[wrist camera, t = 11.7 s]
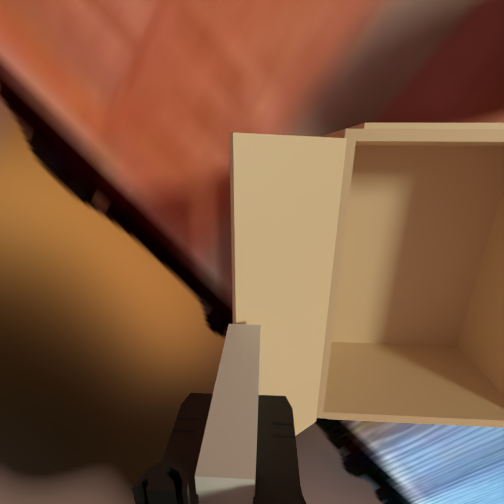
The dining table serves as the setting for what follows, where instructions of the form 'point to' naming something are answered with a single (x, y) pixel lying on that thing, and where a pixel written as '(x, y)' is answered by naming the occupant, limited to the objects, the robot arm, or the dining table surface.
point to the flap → (285, 255)
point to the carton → (418, 277)
